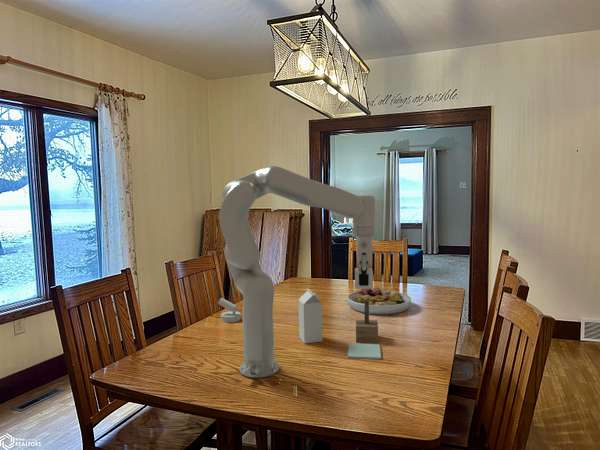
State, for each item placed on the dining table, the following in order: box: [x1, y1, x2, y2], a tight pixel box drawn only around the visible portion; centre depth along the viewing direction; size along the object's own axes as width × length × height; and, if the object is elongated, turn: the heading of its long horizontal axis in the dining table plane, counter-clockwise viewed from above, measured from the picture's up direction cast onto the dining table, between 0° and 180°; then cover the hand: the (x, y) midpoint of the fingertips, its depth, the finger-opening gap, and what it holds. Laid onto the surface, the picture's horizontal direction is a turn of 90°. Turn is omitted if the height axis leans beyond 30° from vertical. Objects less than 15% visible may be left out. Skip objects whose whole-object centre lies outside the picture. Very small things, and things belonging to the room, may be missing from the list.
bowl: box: [346, 286, 412, 316], centre depth 201 cm, size 30×30×8 cm
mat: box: [347, 342, 382, 360], centre depth 146 cm, size 12×11×1 cm
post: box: [355, 299, 379, 344], centre depth 159 cm, size 8×8×15 cm
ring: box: [354, 267, 374, 290], centre depth 146 cm, size 6×6×6 cm
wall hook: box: [217, 297, 242, 324], centre depth 186 cm, size 9×10×10 cm
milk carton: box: [298, 288, 324, 344], centre depth 159 cm, size 7×7×19 cm
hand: (363, 282), depth 146 cm, fingers closed on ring, 6 cm apart
